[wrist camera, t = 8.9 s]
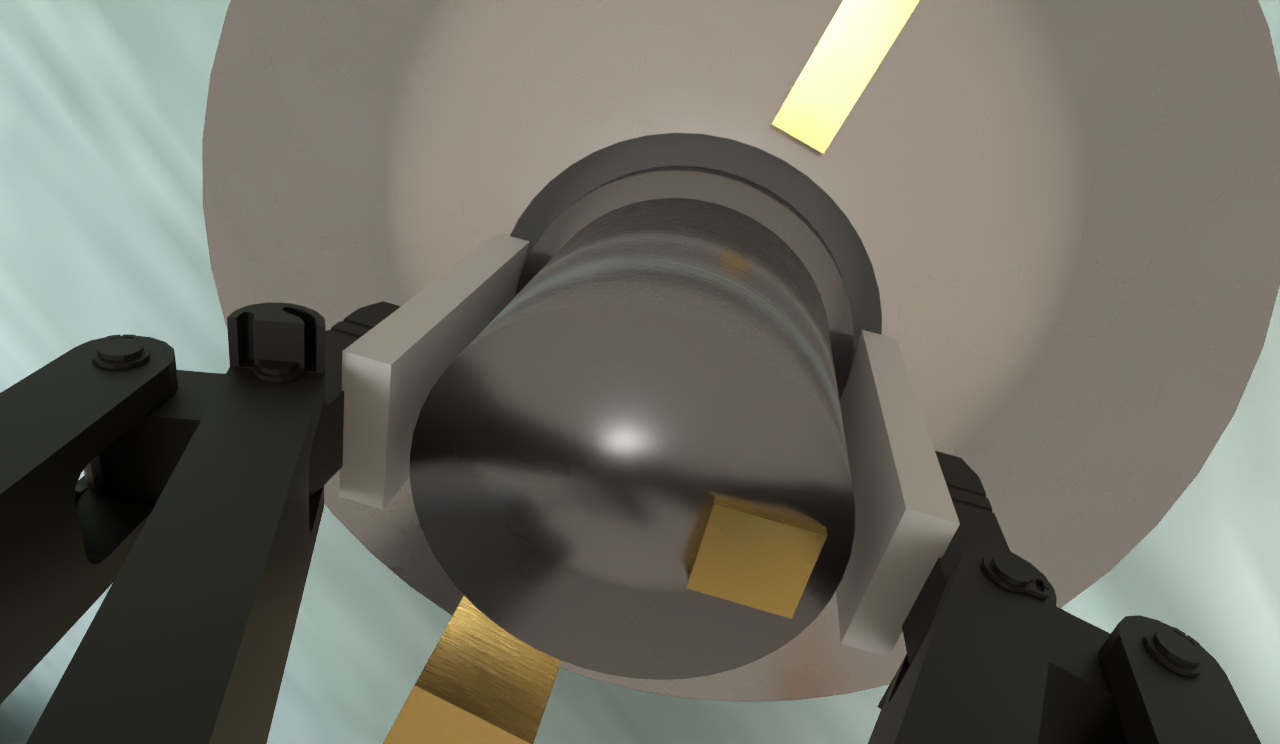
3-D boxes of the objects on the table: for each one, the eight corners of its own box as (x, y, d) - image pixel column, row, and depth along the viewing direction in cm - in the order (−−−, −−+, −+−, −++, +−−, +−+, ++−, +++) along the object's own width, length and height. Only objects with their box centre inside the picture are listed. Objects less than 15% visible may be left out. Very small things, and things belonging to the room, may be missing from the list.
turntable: (402, -622, 12) (56, -1205, 6) (1559, 103, 14) (2131, 167, 8) (175, 431, 23) (-26, 570, 17) (826, 768, 25) (840, 997, 19)
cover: (504, 425, 19) (363, 633, 12) (548, 126, 15) (383, 203, 9) (790, 505, 18) (795, 763, 12) (903, 217, 15) (993, 366, 9)
